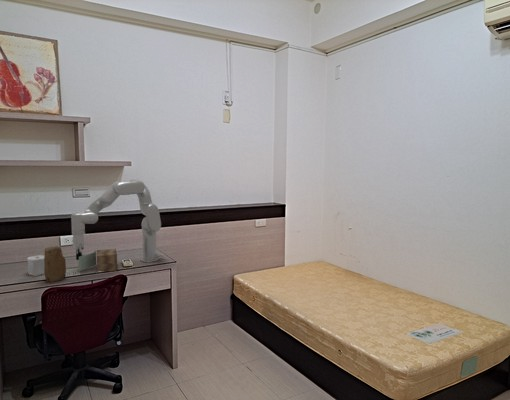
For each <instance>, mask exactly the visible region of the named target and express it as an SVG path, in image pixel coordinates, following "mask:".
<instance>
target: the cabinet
mask: <svg viewBox="0 0 510 400" xmlns="http://www.w3.org/2000/svg"><path fill="white" fill-rule="evenodd" d="M96 270H97V271H109V272H117V271H118V254H117V249H116V248H110V249H108V248H107V249H97V250H96ZM97 271H96V272H97Z"/></svg>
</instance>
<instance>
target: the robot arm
mask: <svg viewBox="0 0 510 400" xmlns="http://www.w3.org/2000/svg"><path fill="white" fill-rule="evenodd" d="M128 195H136V196H137V198H138V203H139V208H140V212H141V214H142V215H144V216H145V217H144V218H142V221H141V231H142V256H141V257H140V261H141V262H142V263H143V262H144V263H153V261H154V262H158V260H159V258H163V257H164V254H163V253H157V232H159V231H160V230H161V227H162V221H161V215H160V210H159V208H158V206H157V205H156V204H154V203H153V200H152V195H151V191H150V190H149V189H148V187H147V185H146V184H145V183H144V182H143V181H141V180H139V179H130V180H128V181H118V180H116V181H114V182H113V183H112V184H111V185H110V186H109V187H108V188H107V189H106V190H105V191H104V193H102V195H101V196H99V197H98V198H97V199H96V200H94V201H93V202H92V203H91V204H89V206H88V207H87V208H85V210H84V211H83V212H82V211H81V212H80V211H79V212H72V213H71V218H70V222H71V235H72V248H73V250H74V251H75V260H76V261H79V256H83V250H84V248H85V243H84V242H85V241H84V239H85V238H84V235H85V234H86V228H85V225H87V224H88V225H89V224H90V225H91V224H92V225H93V224H96V223H97V222H98V220H99V215H98V214H99V212H101V211H102V210H103V209H105V208H108V207H110V206H112V205H113V204H114V203H115V201H116V200H117V199H119V197H120V196H128Z"/></svg>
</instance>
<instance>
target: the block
mask: <svg viewBox="0 0 510 400" xmlns="http://www.w3.org/2000/svg"><path fill="white" fill-rule="evenodd" d="M43 255H44V273H45V274H44V278H45V280H46V282H50V283H51V282H52V283H53V282H58V281H61V280H62V281H63V280H64V279H65V278H66V273H67V266H66V265H67V264H66V258H65V256H64V255H63V251H62V248H61V246H58V245H57V246H49V247H46V248H44V254H43Z"/></svg>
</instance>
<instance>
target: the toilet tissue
mask: <svg viewBox="0 0 510 400" xmlns="http://www.w3.org/2000/svg"><path fill="white" fill-rule="evenodd" d="M26 260H27V274H29V276H33V277H38V276H40V275H41V274H42V275H45V273H44V254H43V255H42V254H39V255H32V256H28V257H27V258H26Z"/></svg>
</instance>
